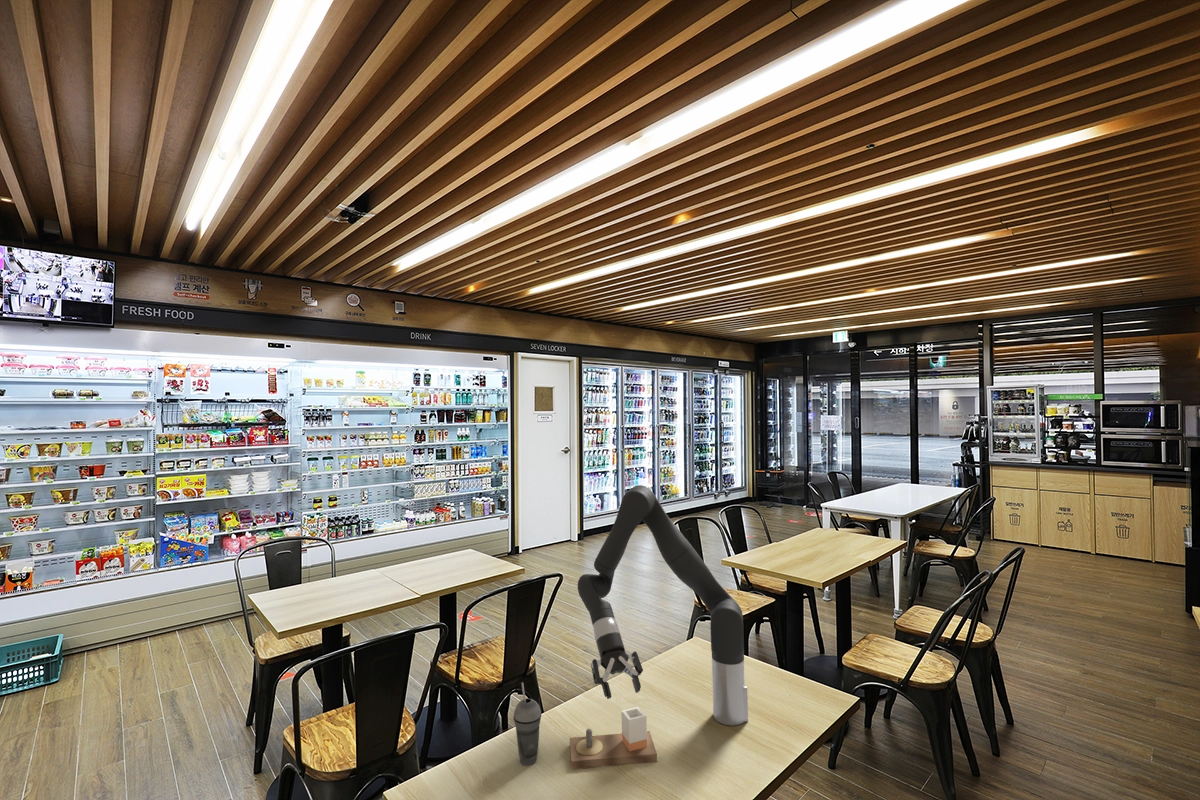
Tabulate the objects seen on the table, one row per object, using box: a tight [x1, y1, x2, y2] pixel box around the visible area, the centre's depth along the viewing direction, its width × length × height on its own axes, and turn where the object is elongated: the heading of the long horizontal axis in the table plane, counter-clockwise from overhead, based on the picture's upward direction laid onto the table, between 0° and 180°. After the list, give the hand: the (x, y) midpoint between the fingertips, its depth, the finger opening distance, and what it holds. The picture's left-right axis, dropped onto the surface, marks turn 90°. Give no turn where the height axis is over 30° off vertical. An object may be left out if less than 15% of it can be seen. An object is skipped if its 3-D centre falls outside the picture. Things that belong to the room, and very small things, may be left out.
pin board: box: [569, 728, 658, 770], centre depth 145 cm, size 22×10×7 cm, turn 96°
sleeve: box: [621, 706, 648, 751], centre depth 145 cm, size 5×5×8 cm
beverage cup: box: [512, 682, 542, 767], centre depth 143 cm, size 7×7×20 cm
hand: (624, 694), depth 152 cm, fingers open, 8 cm apart
